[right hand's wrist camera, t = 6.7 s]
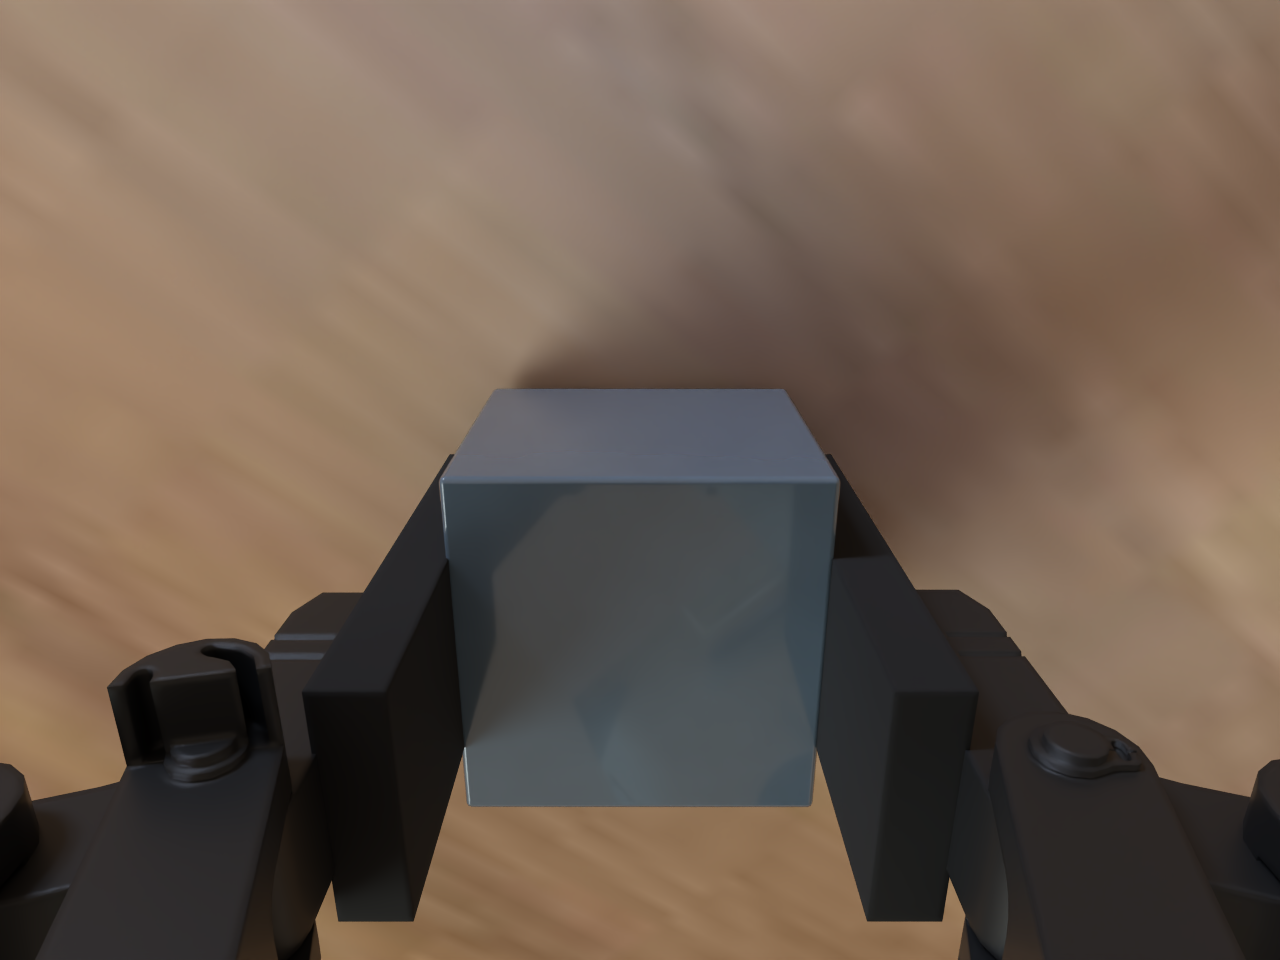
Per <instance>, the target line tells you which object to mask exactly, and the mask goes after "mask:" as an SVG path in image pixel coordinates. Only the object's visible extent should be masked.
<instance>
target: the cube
mask: <svg viewBox="0 0 1280 960" xmlns="http://www.w3.org/2000/svg"><path fill="white" fill-rule="evenodd" d="M439 489H440V501H441V512H442V524H443V535H444V547H445V557H446V558H448V561H449V573H450V585H451V596H452V608H453V620H454V631H455V643H456V655H457V666H458V678H459V690H460V702H461V713H462V725H463V737H464V751H463V755H462V756H463V767H464V779H465V790H466V801H467V804H468V806H471V807H809V806H811V804H812V802H813V792H814V781H815V769H816V758H817V749H816V744H817V732H818V720H819V709H820V697H821V685H822V674H823V662H824V650H825V639H826V627H827V615H828V604H829V592H830V581H831V569H832V558H833V557H834V551H835V539H836V528H837V516H838V505H839V493H840V480H839V477H838V475H837V474H836V472H835V471H834V469H833V467H832V466H831V464H830V462H829V461H828V459H827V457H826V456H825V454H824V452H823V451H822V449H821V447H820V446H819V444H818V443H817V441H816V439H815V438H814V436H813V434H812V433H811V431H810V429H809V428H808V426H807V424H806V423H805V421H804V419H803V418H802V416H801V415H800V413H799V411H798V410H797V408H796V406H795V405H794V403H793V401H792V400H791V398H790V396H789V395H788V393H787V391H786V390H784V389H496V390H494V391H493V392H492V394H491V396H490V397H489V399H488V401H487V402H486V404H485V406H484V407H483V409H482V410H481V412H480V414H479V415H478V417H477V419H476V420H475V422H474V424H473V425H472V427H471V428H470V430H469V432H468V433H467V435H466V437H465V438H464V440H463V442H462V443H461V445H460V446H459V448H458V450H457V451H456V453H455V455H454V456H453V458H452V459H451V461H450V463H449V464H448V466H447V468H446V469H445V471H444V473H443V474H442V476H441V477H440V480H439Z"/></svg>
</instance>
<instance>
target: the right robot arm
mask: <svg viewBox="0 0 1280 960" xmlns="http://www.w3.org/2000/svg"><path fill="white" fill-rule="evenodd" d="M454 455H455V454H450V455H449V457H448V458H447V460H446V461H445V463H444V465H443V466H442V468H441V469H440V471H439V473H438V474H437V476H436V477H435V479H434V481H433V482H432V484H431V485H430V487H429V489H428V490H427V492H426V493H425V495H424V497H423V498H422V500H421V501H420V503H419V505H418V506H417V508H416V509H415V511H414V513H413V514H412V516H411V517H410V519H409V521H408V522H407V524H406V525H405V527H404V529H403V530H402V532H401V533H400V535H399V537H398V538H397V540H396V541H395V543H394V545H393V546H392V548H391V549H390V551H389V553H388V554H387V556H386V557H385V559H384V561H383V562H382V564H381V565H380V567H379V569H378V570H377V572H376V574H375V575H374V577H373V578H372V580H371V582H370V583H369V585H368V586H367V588H366V590H365V591H364V593H322V594H320V595H318V596H317V597H315V598H314V599H312V600H311V601H309V602H307V603H306V604H304V605H303V606H301V607H300V608H298V609H297V610H295V611H293V612H292V613H291V614H290V616H289V617H288V618H287V620H286V621H285V622H284V624H283V625H282V626H281V628H280V629H279V630H278V632H277V633H276V634H275V639H274V640H271V641H270V642H269V644H268V645H267V646H266V648H265V649H263V648H262V647H260V646H259V645H258V644H257V643H253V642H248V641H244V640H240V639H235V638H229V639H204V640H199V641H194V642H189V643H184V644H179V645H175V646H172V647H170V648H167V649H164V650H162V651H159V652H156V653H154V654H151V655H148V656H146V657H144V658H143V659H141V660H139V661H138V662H136V663H134V664H133V665H131V666H129V667H128V668H126V669H124V670H123V671H122V672H121V673H120V674H119V675H118V676H117V677H116V678H115V679H114V680H113V681H112V683H111V684H110V685H109V686H108V687H107V689H108V693H109V697H110V701H111V705H112V709H113V713H114V717H115V721H116V725H117V729H118V733H119V737H120V741H121V745H122V749H123V753H124V757H125V760H126V764H127V767H126V769H125V771H124V774H123V776H122V778H121V780H120V782H117V783H113V784H109V785H106V786H102V787H98V788H93V789H88V790H83V791H78V792H73V793H68V794H63V795H59V796H54V797H49V798H44V799H39V800H34V801H31V797H30V794H29V791H28V788H27V784H26V781H25V778H24V775H23V774H21V773H20V772H19V771H18V770H17V769H15V768H14V767H13V766H12V765H10V764H4V763H0V960H321V954H320V946H319V939H318V933H317V927H316V921H315V919H316V916H317V914H318V912H319V909H320V907H321V904H322V902H323V900H324V897H325V895H326V893H327V890H328V888H329V886H330V883H331V881H332V884H333V891H334V897H335V903H336V909H337V916H338V921H414V918H415V915H416V911H417V908H418V904H419V901H420V898H421V894H422V891H423V887H424V884H425V881H426V877H427V874H428V870H429V867H430V864H431V860H432V857H433V853H434V850H435V847H436V843H437V840H438V836H439V833H440V829H441V826H442V823H443V819H444V816H445V812H446V809H447V806H448V802H449V799H450V795H451V792H452V789H453V785H454V782H455V778H456V775H457V772H458V768H459V765H460V761H461V758H462V755H463V751H464V737H463V725H462V713H461V702H460V690H459V678H458V666H457V655H456V643H455V631H454V620H453V608H452V596H451V585H450V573H449V561H448V558H446V557H445V547H444V535H443V524H442V512H441V501H440V489H439V480H440V477H441V476H442V474H443V473H444V471H445V469H446V468H447V466H448V464H449V463H450V461H451V459H452V458H453V456H454ZM825 456H826V457H827V459H828V461H829V462H830V464H831V466H832V467H833V469H834V471H835V472H836V474H837V475H838V477H839V480H840V493H839V505H838V516H837V528H836V539H835V551H834V557H833V558H832V569H831V581H830V592H829V604H828V615H827V627H826V639H825V650H824V662H823V674H822V685H821V697H820V709H819V720H818V732H817V744H816V749H817V752H818V755H819V759H820V762H821V766H822V769H823V773H824V776H825V779H826V783H827V786H828V790H829V793H830V796H831V800H832V803H833V807H834V810H835V813H836V817H837V820H838V824H839V827H840V830H841V834H842V837H843V841H844V844H845V847H846V851H847V854H848V858H849V861H850V864H851V868H852V871H853V875H854V878H855V882H856V885H857V888H858V892H859V895H860V899H861V902H862V905H863V909H864V912H865V916H866V919H867V921H942V920H943V914H944V908H945V901H946V895H947V889H948V883H949V877H950V879H951V882H952V884H953V886H954V889H955V891H956V893H957V896H958V898H959V901H960V903H961V905H962V908H963V910H964V912H965V921H964V927H963V933H962V938H961V944H960V950H959V956H958V960H1280V759H1279V760H1272V761H1270V762H1269V763H1268V764H1267V765H1266V766H1264V767H1263V768H1262V769H1261V770H1259V771H1258V774H1257V778H1256V781H1255V784H1254V787H1253V791H1252V794H1251V797H1246V796H1241V795H1237V794H1232V793H1227V792H1222V791H1217V790H1212V789H1207V788H1202V787H1197V786H1192V785H1188V784H1183V783H1179V782H1175V781H1171V780H1167V779H1164V778H1160V777H1159V776H1158V774H1157V772H1156V770H1155V768H1154V766H1153V764H1152V763H1151V762H1150V760H1149V759H1148V758H1147V757H1146V755H1145V754H1144V753H1143V751H1142V750H1141V749H1140V748H1139V746H1137V745H1136V744H1134V743H1133V742H1131V741H1130V740H1129V739H1127V738H1126V737H1124V736H1123V735H1121V734H1120V733H1119V732H1117V731H1116V730H1113V729H1111V728H1109V727H1107V726H1104V725H1102V724H1100V723H1097V722H1095V721H1093V720H1090V719H1088V718H1084V717H1080V716H1075V715H1071V714H1068V713H1067V711H1066V710H1065V709H1064V707H1063V706H1062V705H1061V703H1060V702H1059V701H1058V699H1057V698H1056V697H1055V695H1054V694H1053V693H1052V691H1051V690H1050V689H1049V688H1048V686H1047V685H1046V684H1045V682H1044V681H1043V680H1042V678H1041V677H1040V676H1039V674H1038V673H1037V672H1036V670H1035V669H1034V668H1033V666H1032V665H1031V664H1030V663H1029V661H1028V660H1027V659H1026V657H1025V656H1021V651H1020V649H1019V648H1018V647H1017V645H1016V644H1015V643H1014V641H1013V640H1012V639H1011V637H1007V632H1006V631H1005V630H1004V628H1003V627H1002V626H1001V624H1000V623H999V622H998V620H997V619H996V618H995V616H994V615H993V614H992V612H991V611H990V610H989V609H988V608H986V607H985V606H983V605H981V604H980V603H978V602H977V601H975V600H974V599H972V598H970V597H969V596H967V595H966V594H964V593H963V592H961V591H959V590H915V588H914V587H913V585H912V583H911V582H910V580H909V579H908V577H907V575H906V574H905V572H904V571H903V569H902V567H901V566H900V564H899V563H898V561H897V559H896V558H895V556H894V555H893V553H892V551H891V550H890V548H889V547H888V545H887V543H886V542H885V540H884V539H883V537H882V535H881V534H880V532H879V531H878V529H877V527H876V526H875V524H874V523H873V521H872V519H871V518H870V516H869V515H868V513H867V511H866V510H865V508H864V507H863V505H862V503H861V502H860V500H859V499H858V497H857V495H856V494H855V492H854V491H853V489H852V487H851V486H850V484H849V483H848V481H847V479H846V478H845V476H844V475H843V473H842V471H841V470H840V468H839V467H838V465H837V463H836V462H835V460H834V459H833V457H832V455H831V454H825Z"/></svg>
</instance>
